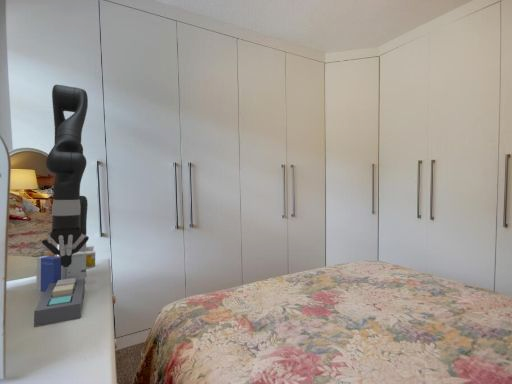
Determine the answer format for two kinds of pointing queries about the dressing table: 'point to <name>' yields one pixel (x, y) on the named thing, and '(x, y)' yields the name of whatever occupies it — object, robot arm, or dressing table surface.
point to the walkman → (47, 271)
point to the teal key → (60, 300)
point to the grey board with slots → (59, 306)
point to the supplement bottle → (90, 256)
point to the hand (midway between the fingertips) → (66, 266)
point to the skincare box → (77, 266)
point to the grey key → (66, 282)
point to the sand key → (63, 290)
